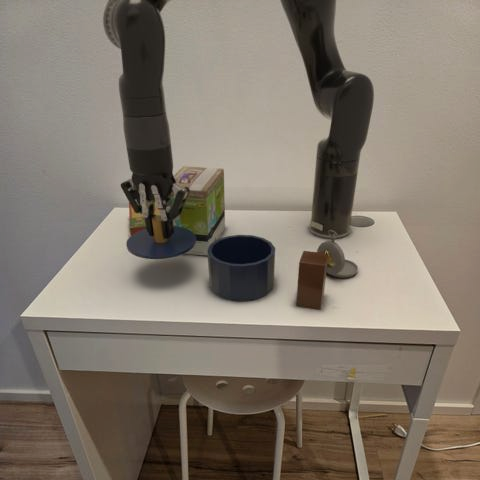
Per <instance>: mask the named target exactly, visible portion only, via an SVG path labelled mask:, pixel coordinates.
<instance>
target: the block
mask: <svg viewBox="0 0 480 480" xmlns="http://www.w3.org/2000/svg"><path fill="white" fill-rule="evenodd" d="M328 255H329V254H328V252H327V253H326V252H325V253H320V252H317V251H310V250H303V251H302V254H301V257H300V259H299V263H298V275H297V287H296V301H295V306H296V307H299V308H300V307H301V308H305V309H314V310H321V309H322V305H323V301H324V296H325V288H326V280H327V263H328Z"/></svg>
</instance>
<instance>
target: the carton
mask: <svg viewBox="0 0 480 480" xmlns="http://www.w3.org/2000/svg"><path fill="white" fill-rule="evenodd" d="M136 202H137V201H136ZM137 204H138V203H137ZM138 205H139V204H138ZM154 214H156V216H161V214H160V210H159V209H158V208H157V205H156V201H155V212H154ZM128 215H129V216H128V217H129V218H128V220H129V222H128V223H129V224H128V225H129V233H130V236H132V235H133V234H135V233H136V232H138V231H141V230H144V229H146V223H145V218H144V217H143V215H142V214H141V213H135V212H134V210H133V208H132V206H131V204H130V203H129V202H128Z"/></svg>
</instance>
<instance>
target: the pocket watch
mask: <svg viewBox="0 0 480 480" xmlns="http://www.w3.org/2000/svg"><path fill="white" fill-rule="evenodd" d="M329 231H332V232H334V233H335V234H336V235H337V237H335V234H332V236H331V235H330V233H329ZM329 231H328V234H329V235H330V236H331V238H330V239H331V240H325V241H323V242H321V243H320V244H319V245H318V248H317V250H316V252H320V253H328V254H329V255H328V263H327V272H326V274H328V275H329V276H332V277H335V278H350V277H353V276H355V275H356V274H357V273H358V270H359V267H358V265H357V264H356V262H354V261H351V260H348V259H346V258H345V253H344V251H343V249H342V248H341V246H340V245H339V244H338V243H337V242H336V241H335V240H337V239H339V238H338V234H337V233H336V232H335V231H333V230H329Z"/></svg>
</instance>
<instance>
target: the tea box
mask: <svg viewBox="0 0 480 480" xmlns="http://www.w3.org/2000/svg"><path fill="white" fill-rule="evenodd" d="M224 172H225V170H224V168H219V167H204V166H203V167H201V166H182V167H181V168H180V169H179V170H178V171H177V172H175V174H173V176H174V178H175V180H176V184H178V185H179V186H181V187H183V188H184V187H188V188H189V190H190V192H189V194H188V197H187V200H186V202H185V205H184V208H183V210H182V213H181V214H180V215H179V216H178V217H176V218H175V219H173V226H177V227H182V228H186V229H188V230H190V231H192V232H193V233H194V234H195V236H196V244H195V246H194V247H193V248H192V249H191V250H190V251H188V252H186V253H184V254H183V255H194V256H195V255H196V256H207V257H208V252H207V251H208V248H209V246H210V244H212V243H213V242H215V241H216V240H218V239H220V237H221V235H222V234H223V232H224V230H225V228H226V210H225V209H226V208H225V207H226V206H225V205H226V203H225V173H224ZM173 196H174V191H172V192H171V198H172V206H173V203H174V200H175V198H174V197H173Z"/></svg>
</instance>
